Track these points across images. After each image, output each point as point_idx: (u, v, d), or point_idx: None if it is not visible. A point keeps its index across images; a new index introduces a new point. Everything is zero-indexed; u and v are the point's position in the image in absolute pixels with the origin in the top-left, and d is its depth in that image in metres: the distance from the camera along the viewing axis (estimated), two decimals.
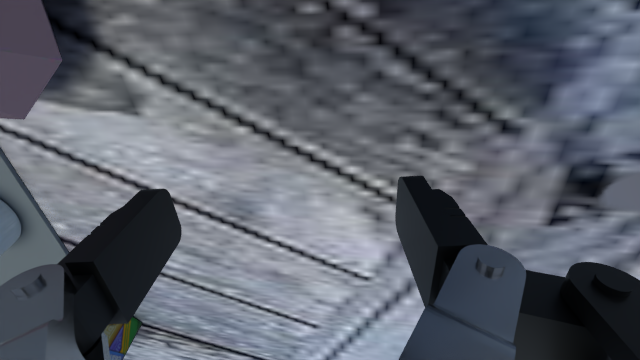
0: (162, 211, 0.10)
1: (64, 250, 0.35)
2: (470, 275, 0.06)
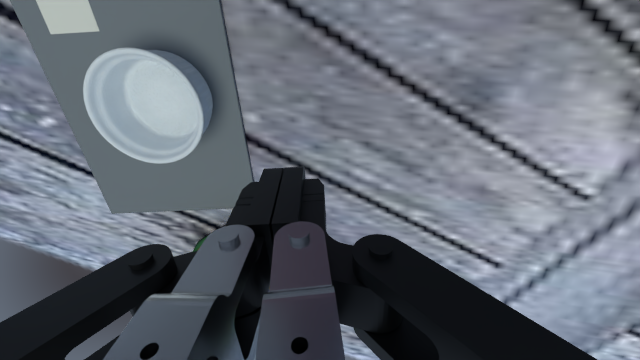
0: None
1: (247, 152, 0.29)
2: (288, 252, 0.07)
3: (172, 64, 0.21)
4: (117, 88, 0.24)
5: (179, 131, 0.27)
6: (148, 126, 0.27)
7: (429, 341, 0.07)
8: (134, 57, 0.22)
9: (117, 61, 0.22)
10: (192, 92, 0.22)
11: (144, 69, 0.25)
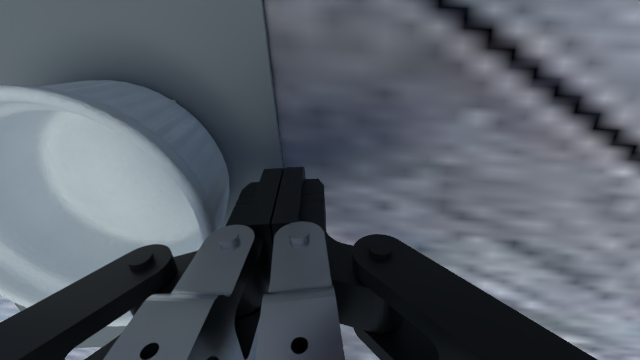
0: None
1: None
2: (288, 252, 0.07)
3: (132, 128, 0.08)
4: (19, 164, 0.11)
5: (162, 235, 0.14)
6: (99, 226, 0.13)
7: (429, 341, 0.07)
8: (32, 107, 0.08)
9: None
10: (187, 194, 0.09)
11: (81, 121, 0.11)
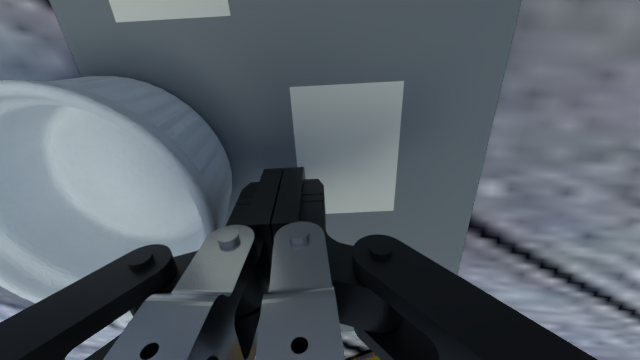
0: None
1: None
2: (288, 252, 0.07)
3: (135, 123, 0.08)
4: (24, 160, 0.11)
5: (165, 230, 0.14)
6: (103, 222, 0.14)
7: (429, 341, 0.07)
8: (37, 102, 0.08)
9: None
10: (189, 189, 0.09)
11: (85, 117, 0.11)
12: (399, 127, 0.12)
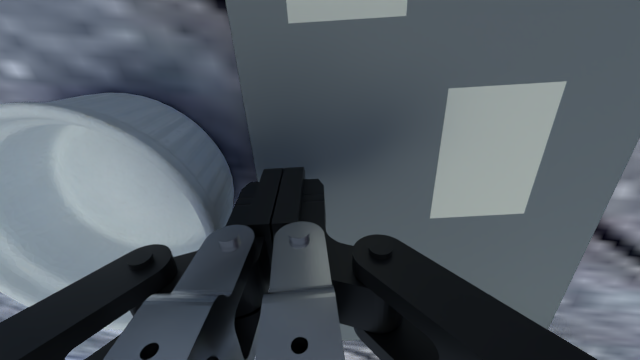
0: None
1: None
2: (288, 252, 0.07)
3: (127, 133, 0.08)
4: (34, 181, 0.12)
5: (174, 239, 0.14)
6: (114, 236, 0.14)
7: (429, 341, 0.07)
8: (36, 123, 0.09)
9: None
10: (186, 193, 0.09)
11: (87, 135, 0.12)
12: (550, 129, 0.12)
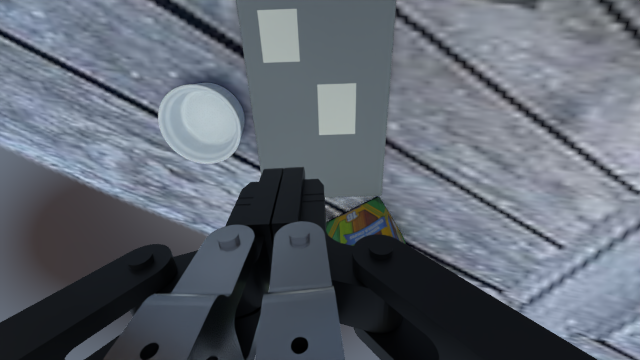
0: None
1: (384, 152, 0.38)
2: (288, 252, 0.07)
3: (218, 93, 0.31)
4: (177, 112, 0.34)
5: (220, 139, 0.37)
6: (198, 137, 0.36)
7: (429, 341, 0.07)
8: (192, 90, 0.31)
9: (180, 93, 0.31)
10: (233, 111, 0.31)
11: (195, 97, 0.34)
12: (355, 100, 0.34)
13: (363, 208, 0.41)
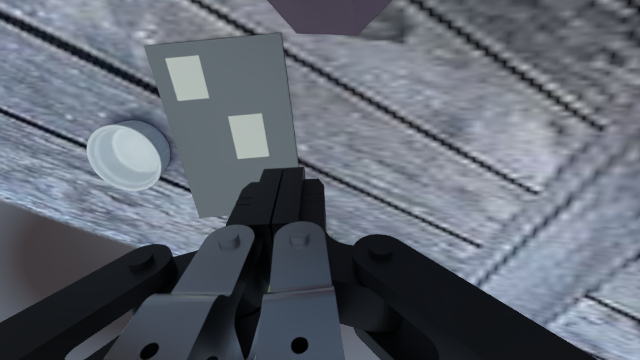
0: None
1: None
2: (288, 252, 0.07)
3: (136, 130, 0.35)
4: (108, 147, 0.39)
5: (151, 168, 0.41)
6: (131, 167, 0.41)
7: (429, 341, 0.07)
8: (114, 129, 0.36)
9: (104, 132, 0.36)
10: (150, 144, 0.36)
11: (123, 133, 0.39)
12: (264, 127, 0.39)
13: None
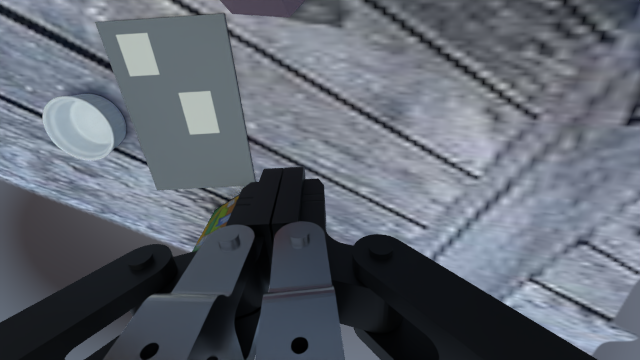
0: None
1: (248, 147, 0.45)
2: (288, 252, 0.07)
3: (88, 102, 0.38)
4: (65, 118, 0.41)
5: (108, 140, 0.44)
6: (89, 139, 0.44)
7: (429, 341, 0.07)
8: (68, 100, 0.38)
9: (59, 103, 0.38)
10: (102, 116, 0.38)
11: (80, 105, 0.41)
12: (213, 104, 0.42)
13: None
